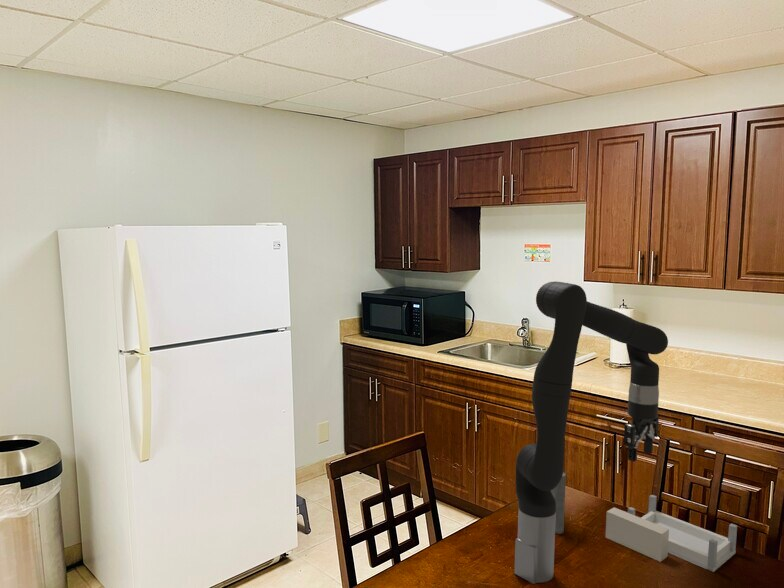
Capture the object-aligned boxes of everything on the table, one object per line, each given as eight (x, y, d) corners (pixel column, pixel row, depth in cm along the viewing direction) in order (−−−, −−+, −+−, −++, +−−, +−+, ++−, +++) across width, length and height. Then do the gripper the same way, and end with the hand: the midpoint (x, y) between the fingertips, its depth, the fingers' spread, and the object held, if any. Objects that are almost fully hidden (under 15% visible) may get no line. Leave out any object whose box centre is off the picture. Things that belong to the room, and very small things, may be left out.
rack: (713, 572, 153) (715, 543, 152) (626, 534, 171) (627, 508, 170) (735, 553, 162) (737, 525, 161) (650, 519, 180) (651, 494, 179)
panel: (660, 562, 158) (662, 534, 157) (605, 537, 170) (606, 511, 169) (667, 557, 160) (669, 529, 159) (612, 533, 172) (614, 507, 171)
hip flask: (565, 533, 172) (567, 467, 169) (551, 533, 172) (553, 467, 169) (549, 507, 187) (551, 447, 185) (536, 507, 187) (538, 447, 185)
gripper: (643, 407, 153) (640, 467, 155) (669, 397, 162) (666, 454, 164) (616, 400, 158) (613, 459, 160) (643, 391, 167) (640, 446, 169)
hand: (640, 456), depth 162 cm, fingers open, 8 cm apart
